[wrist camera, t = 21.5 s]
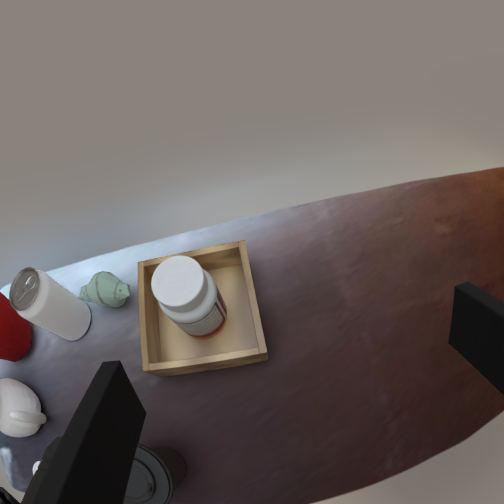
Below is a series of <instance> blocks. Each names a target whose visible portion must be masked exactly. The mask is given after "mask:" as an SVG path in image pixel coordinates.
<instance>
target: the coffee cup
mask: <svg viewBox="0 0 504 504" xmlns="http://www.w3.org/2000/svg"><path fill="white" fill-rule="evenodd" d="M185 474H186V466H185V462H184V460H183V459H182V457H181V456H180V455H179V454H178V453H177V452H176V451H174V450H172V449H170V448H166V447H148V446H144V445H141V444H138V445H137V449H136V453H135V457H134V461H133V465H132V468H131V472H130V477H129V481H128V485H127V489H126V493H125V497H124V502H123V504H169V502H170V500H171V498H172V496H173V491H174V490H175V489H176V487H177V486H178V485H179V484H180V482H181V481H182V480H183V478H184V476H185Z"/></svg>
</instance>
